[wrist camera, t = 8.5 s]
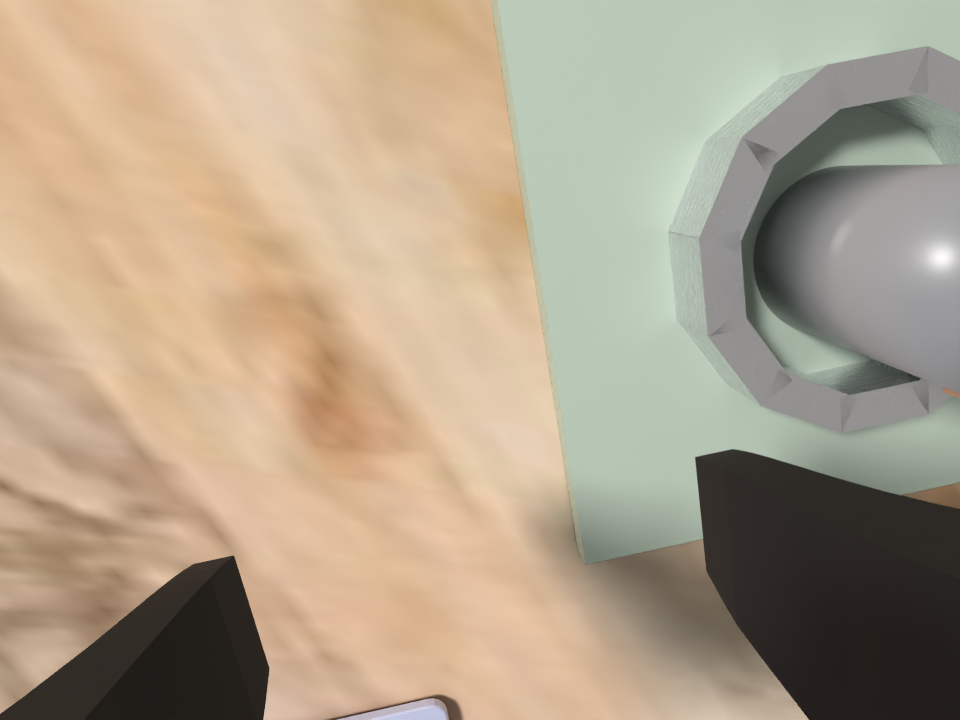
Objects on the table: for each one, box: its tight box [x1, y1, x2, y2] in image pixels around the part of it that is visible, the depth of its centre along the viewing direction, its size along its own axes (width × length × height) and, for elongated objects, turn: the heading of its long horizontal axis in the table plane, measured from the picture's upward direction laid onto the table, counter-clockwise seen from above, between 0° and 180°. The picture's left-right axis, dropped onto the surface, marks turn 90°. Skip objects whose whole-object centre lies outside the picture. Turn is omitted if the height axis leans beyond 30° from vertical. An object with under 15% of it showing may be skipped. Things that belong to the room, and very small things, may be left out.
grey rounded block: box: [754, 164, 960, 398], centre depth 16 cm, size 4×5×6 cm
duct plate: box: [491, 0, 960, 565], centre depth 19 cm, size 16×16×1 cm
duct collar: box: [668, 46, 960, 433], centre depth 18 cm, size 9×9×2 cm
